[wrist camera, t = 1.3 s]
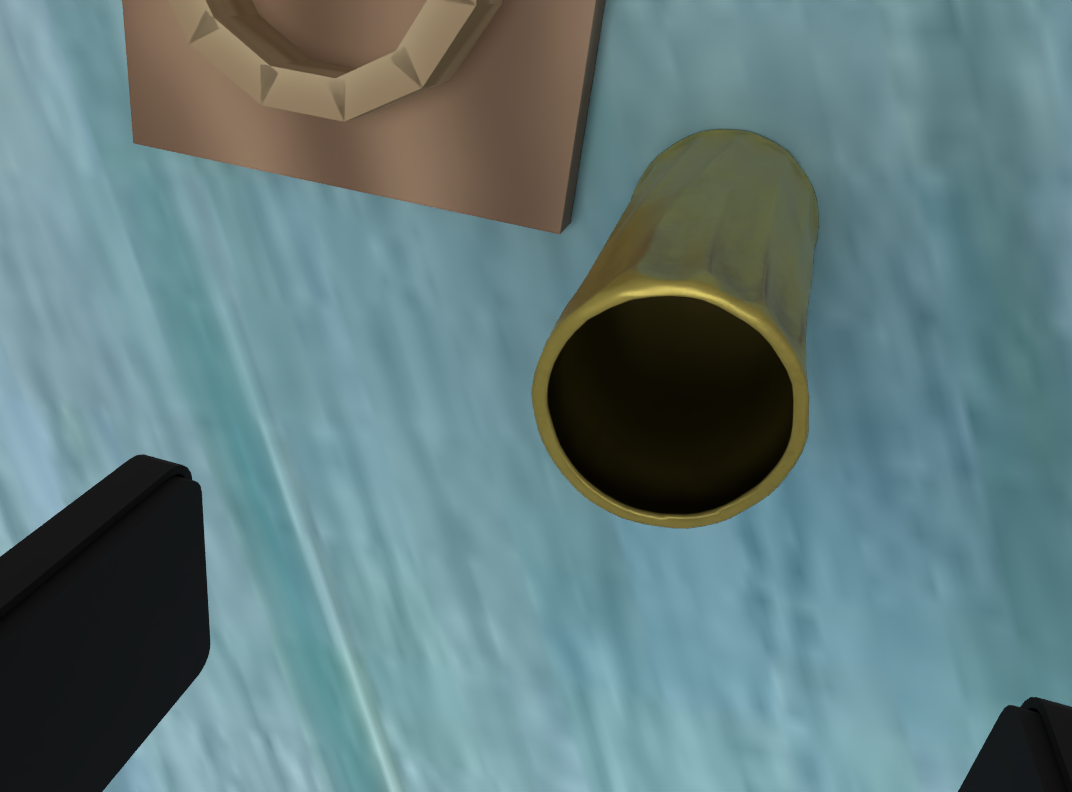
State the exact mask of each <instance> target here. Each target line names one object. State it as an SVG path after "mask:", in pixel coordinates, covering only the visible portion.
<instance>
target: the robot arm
mask: <svg viewBox="0 0 1072 792" xmlns="http://www.w3.org/2000/svg"><path fill="white" fill-rule="evenodd" d="M209 650H210V629H209V611H208V594H207V576H206V559H205V541H204V523H203V506H202V491H201V487H200V485H199V483H198V482H196V481H193V480H192V476H191V472H190V471H189V469H188V468H187V467H185V466H183V465H180V464H177V463H173V462H169V461H166V460H162V459H158V458H154V457H151V456H147V455H136V456H135V457H133V458H131V459H129V460H128V461H127V462H125V463H124V464H123V465H121V466H120V467H119V468H117V469H116V470H115V471H113V472H112V473H111V474H109V475H108V476H107V477H105V478H104V479H103V480H101V481H100V482H99V483H97V484H96V485H95V486H93V487H92V488H91V489H89V490H88V491H87V492H85V493H84V494H83V495H82V496H80V497H79V498H78V499H76V500H75V501H74V502H72V503H71V504H70V505H68V506H67V507H66V508H64V509H63V510H62V511H60V512H59V513H58V514H56V515H55V516H54V517H52V518H51V519H50V520H48V521H47V522H46V523H44V524H43V525H42V526H40V527H39V528H38V529H36V530H35V531H34V532H32V533H31V534H30V535H28V536H27V537H26V538H24V539H23V540H22V541H21V542H19V543H18V544H17V545H15V546H14V547H13V548H11V549H10V550H9V551H7V552H6V553H5V554H3V555H2V556H1V557H0V792H102V791H103V790H104V789H105V788H106V786H107V785H108V784H109V783H110V782H111V780H112V779H113V778H114V777H115V776H116V774H117V773H118V772H119V771H120V770H121V768H122V767H123V766H124V765H125V763H126V762H127V761H128V760H129V759H130V757H131V756H132V755H133V754H134V753H135V751H136V750H137V749H138V748H139V746H140V745H141V744H142V743H143V742H144V740H145V739H146V738H147V737H148V736H149V734H150V733H151V732H152V731H153V730H154V728H155V727H156V726H157V725H158V723H159V722H160V721H161V720H162V719H163V717H164V716H165V715H166V714H167V713H168V711H169V710H170V709H171V708H172V706H173V705H174V704H175V703H176V702H177V700H178V699H179V698H180V697H181V696H182V694H183V693H184V692H185V691H186V690H187V688H188V687H189V686H190V685H191V683H192V682H193V681H194V680H195V679H196V677H197V676H198V675H199V673H200V672H201V671H202V669H203V667H204V665H205V663H206V660H207V658H208V655H209ZM958 792H1072V707H1070V706H1067V705H1063V704H1059V703H1056V702H1052V701H1048V700H1044V699H1041V698H1037V697H1030V698H1029V699H1027V700H1026V701H1025V702H1024V703H1023V704H1022V706H1021V707H1017V706H1013V705H1008V706H1007V707H1005V708H1004V710H1003V711H1002V712H1001V714H1000V716H999V717H998V719H997V721H996V723H995V725H994V727H993V729H992V730H991V732H990V734H989V736H988V738H987V740H986V741H985V743H984V745H983V747H982V749H981V751H980V752H979V754H978V756H977V758H976V760H975V762H974V763H973V765H972V767H971V769H970V771H969V773H968V774H967V776H966V778H965V780H964V782H963V784H962V785H961V787H960V789H959V791H958Z"/></svg>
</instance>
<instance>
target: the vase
mask: <svg viewBox="0 0 1072 792" xmlns="http://www.w3.org/2000/svg"><path fill="white" fill-rule="evenodd" d="M818 228H819V219H818V206H817V199H816V196H815V192H814V189H813V187H812V185H811V183H810V181H809V179H808V178H807V176H806V175H805V173H804V172H803V170H802V169H801V168H800V166H799V165H798V163H797V162H796V161H795V159H794V158H793V157H792V156H791V154H790V153H789V152H788V151H787V150H785V149H784V148H782V147H781V146H779V145H777V144H776V143H774V142H772V141H770V140H768V139H766V138H764V137H762V136H760V135H757V134H755V133H752V132H747V131H741V130H729V129H717V130H707V131H703V132H699V133H696V134H693V135H691V136H688V137H686V138H684V139H682V140H680V141H679V142H677V143H675V144H673V145H672V146H671V147H669V148H668V149H667V150H665V151H664V152H663V153H661V154H660V155H659V156H657V157H656V158H655V159H654V160H653V161H652V162H651V164H650V165H649V166H648V168H647V169H646V170H645V172H644V173H643V175H642V177H641V178H640V180H639V182H638V184H637V186H636V188H635V190H634V193H633V195H632V198H631V201H630V203H629V205H628V206H627V208H626V210H625V212H624V213H623V215H622V217H621V219H620V220H619V222H618V224H617V225H616V227H615V228H614V230H613V232H612V234H611V235H610V237H609V239H608V241H607V243H606V244H605V246H604V248H603V249H602V251H601V253H600V254H599V256H598V258H597V260H596V261H595V263H594V265H593V266H592V268H591V270H590V272H589V273H588V275H587V277H586V278H585V280H584V281H583V283H582V284H581V286H580V287H579V289H578V290H577V292H576V293H575V295H574V296H573V297H572V299H571V300H570V301H569V303H568V304H567V306H566V307H565V309H564V311H563V312H562V314H561V316H560V317H559V319H558V321H557V322H556V324H555V327H554V329H553V331H552V332H551V334H550V336H549V338H548V340H547V342H546V344H545V347H544V349H543V352H542V354H541V356H540V359H539V362H538V364H537V367H536V370H535V374H534V379H533V385H532V404H533V410H534V415H535V419H536V423H537V427H538V431H539V434H540V437H541V440H542V442H543V444H544V446H545V447H546V449H547V452H548V453H549V455H550V457H551V458H552V460H553V461H554V463H555V464H556V466H557V467H558V468H559V470H560V471H561V472H562V474H563V475H564V476H565V477H566V478H567V480H568V481H569V482H570V483H571V484H572V485H573V486H574V487H575V488H576V489H577V490H578V491H579V492H580V493H581V494H582V495H583V496H584V497H586V498H587V499H588V500H590V501H591V502H593V503H594V504H596V505H598V506H599V507H601V508H603V509H605V510H607V511H608V512H610V513H612V514H615V515H617V516H619V517H621V518H624V519H627V520H630V521H634V522H638V523H642V524H647V525H654V526H660V527H668V528H695V527H702V526H707V525H711V524H716V523H719V522H722V521H725V520H727V519H730V518H732V517H734V516H736V515H737V514H739V513H741V512H743V511H745V510H746V509H748V508H750V507H751V506H753V505H755V504H757V503H758V502H760V501H761V500H763V499H764V498H766V497H767V496H769V495H770V494H771V493H772V492H773V491H774V490H775V489H776V488H777V487H778V486H779V485H780V484H781V483H782V481H783V480H784V479H785V478H786V476H787V475H788V474H789V472H790V471H791V469H792V468H793V467H794V465H795V464H796V462H797V460H798V459H799V457H800V455H801V453H802V451H803V449H804V446H805V443H806V441H807V438H808V432H809V392H808V384H807V373H806V325H807V312H808V304H809V296H810V288H811V282H812V269H813V262H814V255H813V250H814V247H815V245H816V242H817V237H818Z"/></svg>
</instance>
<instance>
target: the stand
mask: <svg viewBox="0 0 1072 792" xmlns="http://www.w3.org/2000/svg"><path fill="white" fill-rule="evenodd" d="M122 4H123V16H124V29H125V42H126V54H127V67H128V80H129V93H130V105H131V118H132V131H133V143H135V144H140V145H144V146H149V147H154V148H158V149H163V150H168V151H172V152H177V153H182V154H186V155H191V156H196V157H200V158H205V159H210V160H215V161H219V162H224V163H229V164H233V165H238V166H243V167H247V168H252V169H257V170H261V171H266V172H271V173H275V174H280V175H285V176H290V177H294V178H299V179H304V180H308V181H313V182H318V183H322V184H327V185H332V186H336V187H341V188H346V189H350V190H355V191H360V192H364V193H369V194H374V195H379V196H383V197H388V198H393V199H397V200H402V201H407V202H411V203H416V204H421V205H425V206H430V207H435V208H439V209H444V210H449V211H454V212H458V213H463V214H468V215H472V216H477V217H482V218H486V219H491V220H496V221H500V222H505V223H510V224H514V225H519V226H524V227H529V228H533V229H538V230H543V231H547V232H552V233H557V234H561V233H562V231H563V230H564V229H565V228H566V227H567V226H568V225H569V224H570V221H571V215H572V208H573V202H574V196H575V189H576V183H577V177H578V170H579V164H580V158H581V151H582V145H583V139H584V132H585V126H586V120H587V113H588V107H589V101H590V94H591V88H592V82H593V75H594V69H595V63H596V56H597V50H598V43H599V37H600V31H601V24H602V18H603V12H604V5H605V0H122Z"/></svg>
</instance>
